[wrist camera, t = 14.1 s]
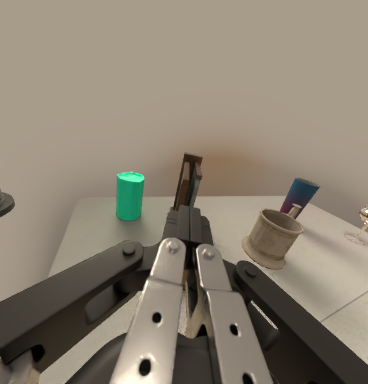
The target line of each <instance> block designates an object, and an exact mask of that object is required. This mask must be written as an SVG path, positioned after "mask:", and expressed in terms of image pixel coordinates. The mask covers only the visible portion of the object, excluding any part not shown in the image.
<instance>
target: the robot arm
mask: <svg viewBox="0 0 368 384" xmlns="http://www.w3.org/2000/svg"><path fill="white" fill-rule="evenodd" d="M4 201H5V199H4V196H3V194H2V193H1V190H0V206H1V205H2V204H3V203H4ZM183 270H186V282H185V288H186V310H187V327H186V334H185V336H184V335H182V334H180V333H178V326H179V318H180V309H181V301H182V292H183V285H182V277H183ZM138 291H142V293H141V296H140V299H139V302H138V304H137V307H136V310H135V313H134V316H133V318H132V321H131V324H130V327H129V330H128V332H127V333H124V334H122V335H120V336H118V337H116V338H114V339H113V340H111V341H109V342H108V343H107V344H106V345H104V346H103V347H102V348H101V349H100V350H98V351H97V352H96V353H95V354H94V355H93V356H92V357H91V358H90V359H89V360H88V361H87V362H86V363H85V364H84V365H83V366H82V367H81V368H80V369H79V370H78V371H77V372H76V373H75V374H74V375H73V376H72V377H71V378H70V379H69V380H68V381H67V382H66V383H65V384H278V383H279V384H368V365H367V364H366V363H365V362H364V361H363V360H362V359H361V358H359V357H358V356H357V355H356V354H355V353H354V352H353V351H352V350H350V349H349V348H348V347H347V346H346V345H345V344H344V343H343V342H341V341H340V340H339V339H338V338H337V337H336V336H335V335H333V334H332V333H331V332H330V331H329V330H328V329H327V328H326V327H324V326H323V325H322V324H321V323H320V322H319V321H318V320H317V319H315V318H314V317H313V316H312V315H311V314H310V313H309V312H307V311H306V310H305V309H304V308H303V307H302V306H301V305H300V304H298V303H297V302H296V301H295V300H294V299H293V298H292V297H291V296H289V295H288V294H287V293H286V292H285V291H284V290H283V289H281V288H280V287H279V286H278V285H277V284H276V283H275V282H274V281H272V280H271V279H270V278H269V277H268V276H267V275H266V274H265V273H263V272H262V271H261V270H260V269H259V268H258V267H257V266H255V265H254V264H252V263H251V262H248V261H239V262H238V263H237V264H236V265H234V264H232V263H230V262H228V261H225V260H224V259H222V256H221V254H220V252H219V251H218V249H217V248H215V247H214V245H213V240H212V234H211V229H210V224H209V221H208V219H207V218H206V217H205V216H201V214H200V209H199V208H194V207H189V206H184V205H180V206H179V211H175V210H171V211H170V212H169V213H168V216H167V220H166V224H165V228H164V232H163V237H162V240H161V241H160V242H159V243H158V244H156V245H154V246H150V247H143V246H142V245H141V244H140V243H139V242H137V241H133V240H128V241H123V242H121V243H119V244H117V245H115V246H113V247H111V248H109V249H107V250H105V251H103V252H101V253H99V254H97V255H95V256H93V257H90V258H88V259H86V260H84V261H82V262H80V263H78V264H76V265H74V266H72V267H70V268H68V269H66V270H64V271H62V272H60V273H58V274H56V275H54V276H52V277H50V278H48V279H46V280H44V281H42V282H40V283H38V284H35V285H33V286H32V287H30V288H27V289H25V290H23V291H21V292H19V293H17V294H15V295H13V296H11V297H9V298H7V299H5V300H3V301H1V302H0V384H38V382H39V375H40V374H41V373H42V372H43V371H44V370H46V369H47V368H48V367H49V366H50V365H52V364H53V363H54V362H55V361H56V360H58V359H59V358H60V357H61V356H62V355H64V354H65V353H66V352H67V351H68V350H70V349H71V348H72V347H73V346H74V345H76V344H77V343H78V342H79V341H81V340H82V339H83V338H84V337H85V336H87V335H88V334H89V333H90V332H91V331H93V330H94V329H95V328H96V327H97V326H99V325H100V324H101V323H102V322H103V321H105V320H106V319H107V318H108V317H110V316H111V315H112V314H113V313H114V312H116V311H117V310H118V309H119V308H120V307H122V306H123V305H124V304H125V303H126V302H128V301H129V300H130V299H131V298H132V297H134V296H135V295H136V293H137V292H138ZM251 301H253V302H254V303H255V304H256V305H257V306H258V307H259V308H260V309H261V310H262V311H263V313H264V314H265V315H266V316H267V317H268V318H269V319H270V320H271V321H272V322H273V323H274V324H275V326H276V327H277V328H278V330H277V329H275V328H274V327H273V326H272V325H271V324H270V323H269V322H268V321H267V320H266V319H265V318H264V317H263V316H262V315H261V313H260V312H259V311H258V310H257V309H256V308H255V307H254V306H253V305H252V304H251ZM269 371H270V372H269ZM272 375H273V376H272ZM275 379H276V380H275Z"/></svg>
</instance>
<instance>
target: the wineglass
mask: <svg viewBox="0 0 368 384" xmlns="http://www.w3.org/2000/svg"><path fill="white" fill-rule="evenodd" d="M359 215H360V218H361V219H362V220H363V221H364V224H365V225H364V226H363V228H362V229H361V230H360V231H359V233H358V234H357V235H356V236H355V237H353V236H351V235H347V234H345V237H347V238H348V239H349V240H351V241H353V242H355V243H357V244H360V245H364V243H363V242H362V241H360V240H359V239H357V237H358V236H359V235H360V234H361V233H362V232H363V231H364V230H365V229H366V228H367V227H368V205H365V208H363V209H361V211H360V212H359Z"/></svg>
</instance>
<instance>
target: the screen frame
mask: <svg viewBox="0 0 368 384" xmlns="http://www.w3.org/2000/svg"><path fill="white" fill-rule="evenodd" d="M202 158H203V157H202V156H199V155H194V154H190V153H185V154H184V158H183V163H182V168H181V173H180V178H179V182H178V188H177V192H176V197H175V202H174V206H173V207H170V211H171V210H175V209H176V204H177V199H178V195H179V190H180V186H181V181H182V176H183V172H184V165H185V162H188V163H189V186H188V190H187V194H186V198H185V203H184V206H189V207H193V206H194V202H195V199H196V195H197V191H198V188H199V184H200V180H201V179H202V173H201V168H200V166H201V162H202ZM185 282H186V270H183V277H182V285H183V290H185V291H186V288H185Z"/></svg>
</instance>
